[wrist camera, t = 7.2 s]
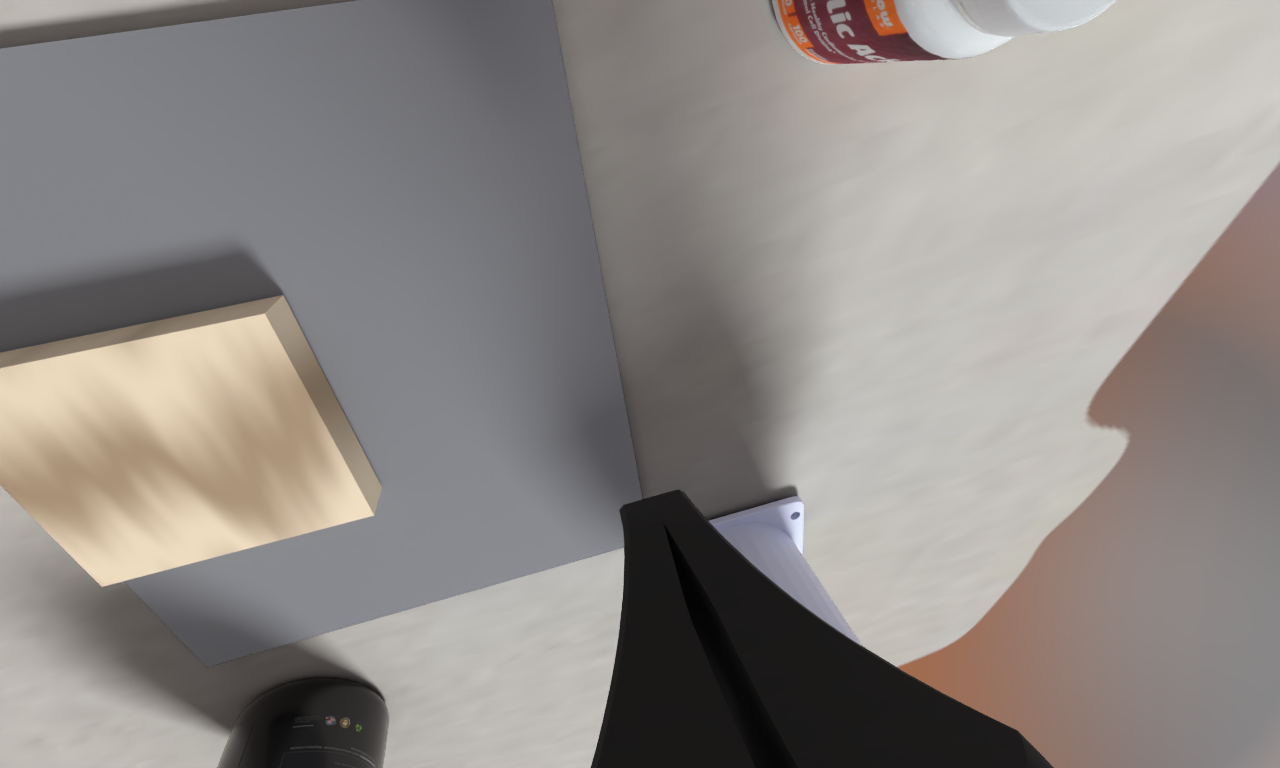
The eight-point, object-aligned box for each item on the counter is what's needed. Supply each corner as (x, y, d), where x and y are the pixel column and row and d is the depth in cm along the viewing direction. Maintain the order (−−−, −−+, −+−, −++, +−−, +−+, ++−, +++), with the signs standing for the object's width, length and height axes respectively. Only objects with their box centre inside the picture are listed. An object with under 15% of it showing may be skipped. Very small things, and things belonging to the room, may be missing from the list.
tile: (374, 515, 19) (101, 586, 18) (382, 484, 21) (131, 548, 20) (264, 313, 15) (-97, 388, 14) (284, 293, 17) (-40, 359, 16)
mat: (648, 534, 26) (650, 540, 26) (210, 659, 23) (206, 667, 23) (545, -24, 15) (546, -26, 15) (-320, 94, 12) (-342, 95, 12)
